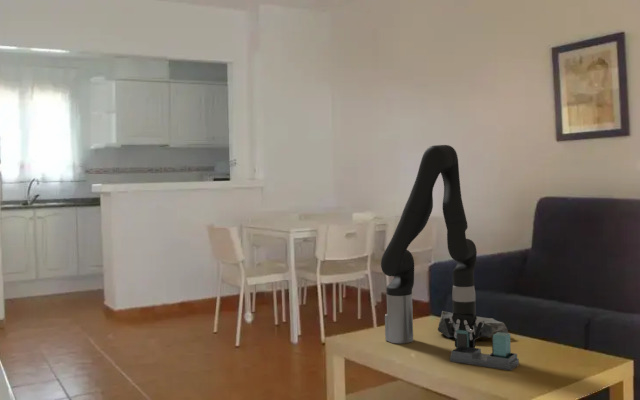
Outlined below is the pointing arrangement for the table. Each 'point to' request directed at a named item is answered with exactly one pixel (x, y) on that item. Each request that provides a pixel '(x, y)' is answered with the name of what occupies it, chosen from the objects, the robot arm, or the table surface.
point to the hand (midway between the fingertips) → (465, 349)
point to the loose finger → (462, 338)
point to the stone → (488, 329)
